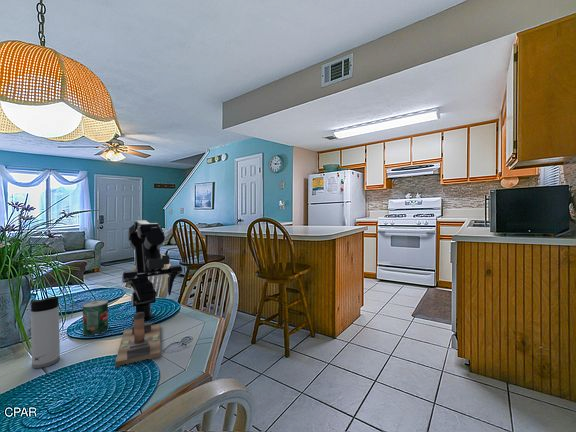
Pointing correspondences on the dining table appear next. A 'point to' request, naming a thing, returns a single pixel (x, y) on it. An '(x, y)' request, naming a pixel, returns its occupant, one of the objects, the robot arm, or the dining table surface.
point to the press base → (141, 352)
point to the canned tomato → (95, 317)
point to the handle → (139, 331)
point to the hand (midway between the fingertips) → (155, 297)
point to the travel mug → (45, 332)
